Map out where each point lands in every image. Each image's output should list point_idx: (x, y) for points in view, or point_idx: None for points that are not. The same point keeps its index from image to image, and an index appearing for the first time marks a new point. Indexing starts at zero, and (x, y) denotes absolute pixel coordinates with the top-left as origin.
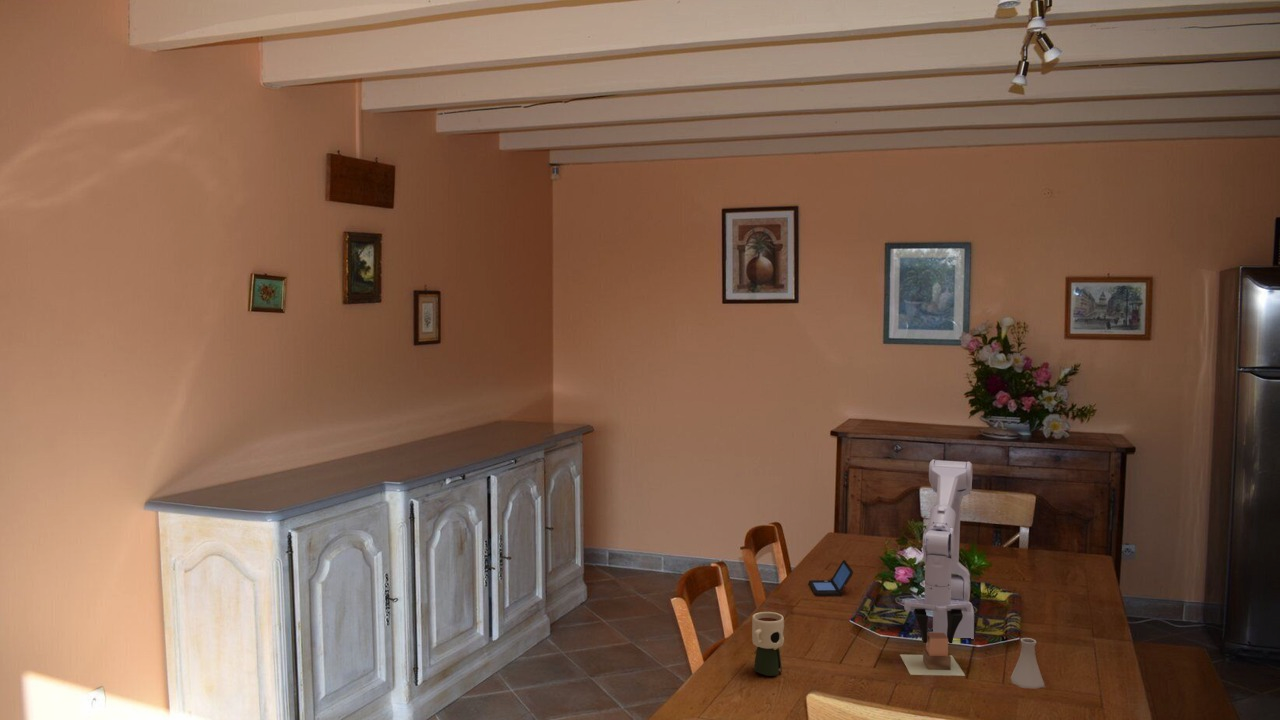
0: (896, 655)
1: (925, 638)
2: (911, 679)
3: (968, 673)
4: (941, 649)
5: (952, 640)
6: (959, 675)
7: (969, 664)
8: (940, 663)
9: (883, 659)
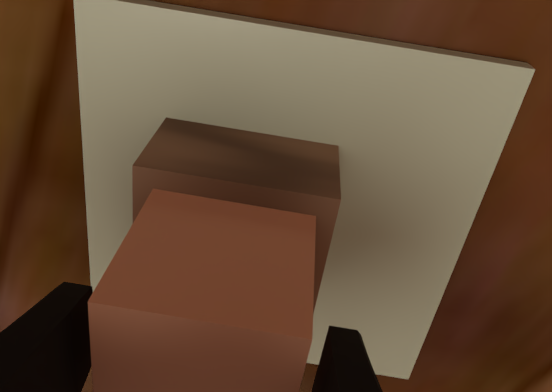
0: (413, 385)
1: (352, 362)
2: (545, 17)
3: (40, 82)
4: (198, 235)
5: (43, 298)
6: (122, 2)
7: (9, 222)
8: (235, 153)
9: (526, 353)
